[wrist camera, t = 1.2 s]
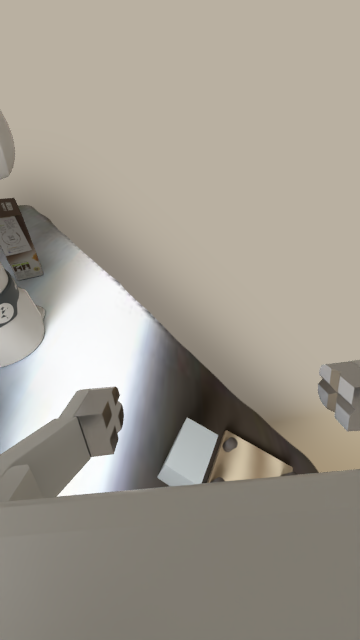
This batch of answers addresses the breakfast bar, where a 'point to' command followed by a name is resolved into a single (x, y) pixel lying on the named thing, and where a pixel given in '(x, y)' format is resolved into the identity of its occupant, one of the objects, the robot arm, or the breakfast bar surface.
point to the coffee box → (17, 241)
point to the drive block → (188, 455)
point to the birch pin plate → (244, 462)
